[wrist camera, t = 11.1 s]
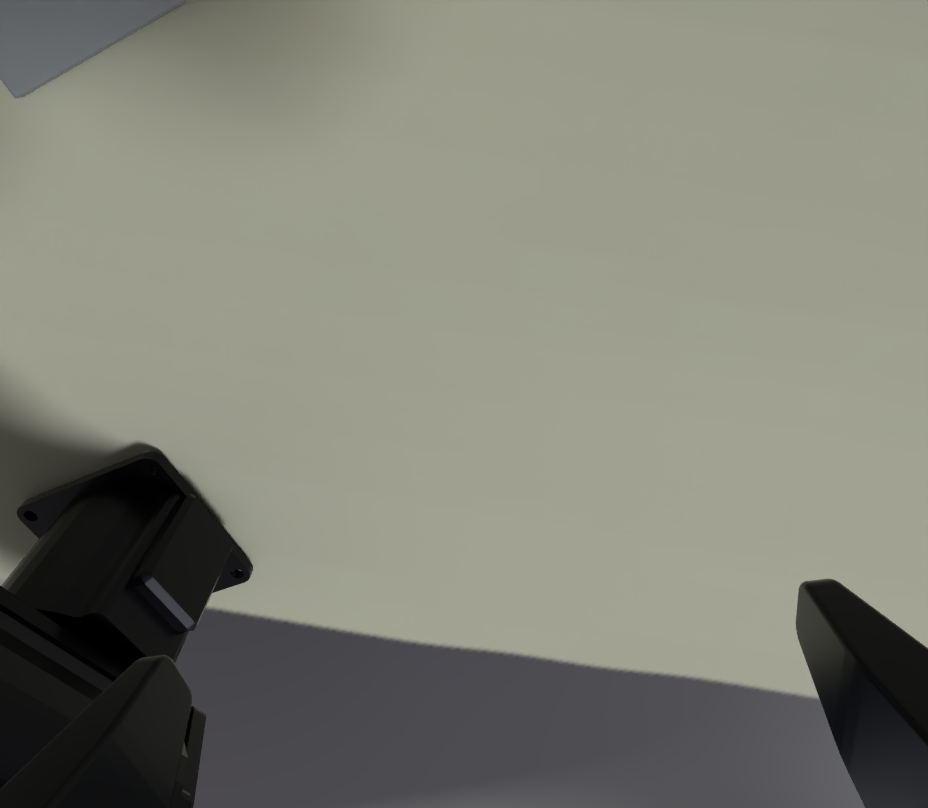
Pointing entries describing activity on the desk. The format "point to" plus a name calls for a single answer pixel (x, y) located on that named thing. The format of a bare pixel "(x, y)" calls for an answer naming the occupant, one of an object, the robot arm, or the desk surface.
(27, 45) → the mat
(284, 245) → the desk surface
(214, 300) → the desk surface
